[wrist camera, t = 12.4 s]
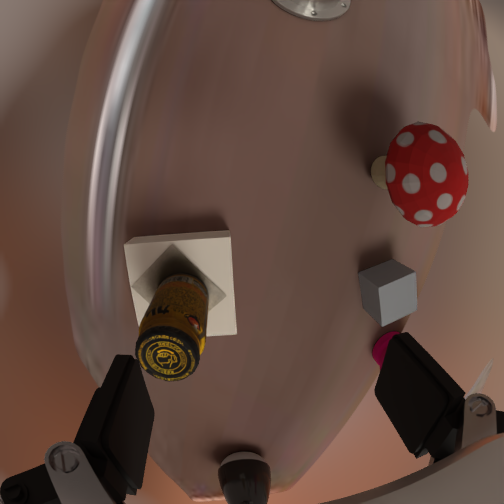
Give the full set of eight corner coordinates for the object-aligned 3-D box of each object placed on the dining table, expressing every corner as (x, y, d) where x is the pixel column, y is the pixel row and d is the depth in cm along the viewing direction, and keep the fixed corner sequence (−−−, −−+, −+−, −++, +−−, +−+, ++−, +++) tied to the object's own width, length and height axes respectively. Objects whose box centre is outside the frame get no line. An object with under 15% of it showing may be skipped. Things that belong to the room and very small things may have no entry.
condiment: (184, 333, 33) (171, 401, 22) (131, 285, 31) (93, 340, 19) (226, 295, 32) (231, 357, 21) (172, 242, 30) (145, 283, 19)
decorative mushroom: (336, 205, 35) (404, 227, 21) (346, 122, 32) (418, 99, 18) (403, 218, 37) (478, 243, 22) (413, 144, 34) (490, 140, 19)
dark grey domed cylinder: (262, 440, 45) (274, 504, 31) (270, 464, 48) (282, 520, 34) (210, 448, 45) (212, 512, 30) (224, 471, 48) (229, 527, 33)
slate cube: (357, 272, 38) (378, 287, 32) (392, 258, 38) (415, 271, 32) (363, 308, 40) (382, 326, 34) (395, 293, 40) (417, 310, 34)
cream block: (133, 237, 33) (123, 244, 29) (229, 230, 34) (230, 237, 31) (148, 323, 36) (141, 338, 33) (235, 318, 38) (236, 334, 34)
